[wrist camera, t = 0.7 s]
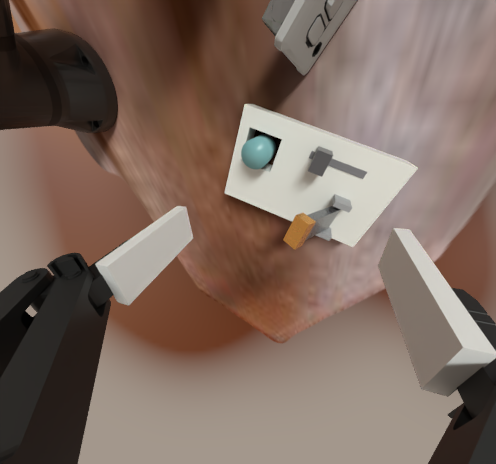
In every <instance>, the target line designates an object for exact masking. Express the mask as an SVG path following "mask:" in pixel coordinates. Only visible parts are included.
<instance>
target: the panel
mask: <svg viewBox="0 0 496 464" xmlns="http://www.w3.org/2000/svg"><path fill="white" fill-rule="evenodd" d="M256 130H258V131H261V132H264V133H266V134H269V135H272V136H274V137H277V138H279V139H282V141H281V143H280V146H279V149H278V152H277V155H276V157H275V160H274V163H273V165H271V164H268V163H267V164H266V165H265V166H264V167H262V168H260V169H251V168H249V167H247V166H246V165H245V164H244V162H243V160H242V157H241V150H242V147H243V145H244V144H245V143H246V142H247V141H248V140H250V139H253V138H254V135H255V131H256ZM318 146H320V147H323V148H325V149H328V150H331V151H332V152H333V157H332V159H331V161H330V163H329V165H328V166H327V168H326V170H325V172H324V174H323V176H322V177H321V176H319V175H316V174H313V173H311V172H308V167H309V164H310V162H311V160H312V158H313V156H314V154H315V152H316V150H317V147H318ZM417 169H418V167H416V166H414V165H413V164H411V163H410V162H408V161H406V160H404V159H401V158H398V157H396V156H393V155H390V154H387V153H385V152H382V151H379V150H377V149H374V148H371V147H368V146H366V145H363V144H360V143H358V142H355V141H352V140H349V139H347V138H344V137H341V136H339V135H336V134H333V133H330V132H328V131H325V130H322V129H319V128H317V127H314V126H311V125H309V124H306V123H303V122H300V121H298V120H295V119H292V118H290V117H287V116H284V115H281V114H279V113H276V112H273V111H271V110H268V109H265V108H262V107H260V106H257V105H254V104H245V105H244V109H243V114H242V118H241V123H240V127H239V131H238V136H237V140H236V145H235V149H234V153H233V158H232V162H231V166H230V171H229V175H228V180H227V184H226V188H225V194H228V195H230V196H232V197H235V198H237V199H240V200H242V201H244V202H247V203H249V204H251V205H254V206H256V207H259V208H261V209H263V210H266V211H268V212H270V213H273V214H275V215H278V216H280V217H282V218H285V219H287V220H290V221H292V222H293V220H294V218H295V216H296V215H297V214H300V213H304V214H306V215H308V214H311V213H314V212H317V211H319V210H322V209H325V208H328V207H330V206H333V207H336V208H338V209H341V210H340V211H339V213H338V214H337V216H336V217H335V219H334V220H333V222H332V223H331V225H330V226H329V228H328V229H326V230H324V231H322V232H320V233H319V234H317V235H316V236H318V237H321V238H323V239H326V240H328V241H330V239H331V238H332V239H335V240H337V241H339V242H342V243H344V244H347V245H349V246H351V247H354V246H355V244H356V243H357V242H358V241H359V240H360V238H361V237H362V236H363V235H364V233H365V232H366V231H367V230H368V229H369V227H370V226H371V225H372V224H373V222H374V221H375V220H376V219H377V218H378V216H379V215H380V214H381V213H382V211H383V210H384V209H385V208H386V207H387V205H388V204H389V203H390V202H391V200H392V199H393V198H394V197H395V196H396V194H397V193H398V192H399V191H400V190H401V188H402V187H403V186H404V185H405V183H406V182H407V181H408V180H409V179H410V177H411V176H412V175H413V174H414V172H415V171H416V170H417Z"/></svg>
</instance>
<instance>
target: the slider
mask: <svg viewBox="0 0 496 464" xmlns="http://www.w3.org/2000/svg"><path fill="white" fill-rule="evenodd" d="M332 157H333V152H332V151H331V150H328V149H325V148H323V147H320V146H318V147H317V150H316V152H315V154H314V156H313V158H312V160H311V162H310V164H309V167H308V172H311V173H313V174H316V175H319V176H321V177H322V176H323V174H324V172H325V170H326V168H327V166H328V165H329V163H330V161H331V159H332Z"/></svg>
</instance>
